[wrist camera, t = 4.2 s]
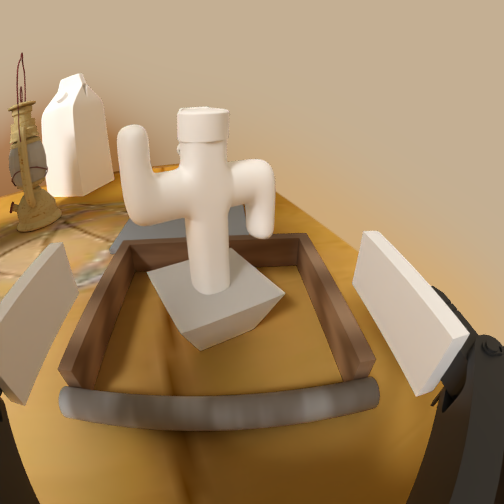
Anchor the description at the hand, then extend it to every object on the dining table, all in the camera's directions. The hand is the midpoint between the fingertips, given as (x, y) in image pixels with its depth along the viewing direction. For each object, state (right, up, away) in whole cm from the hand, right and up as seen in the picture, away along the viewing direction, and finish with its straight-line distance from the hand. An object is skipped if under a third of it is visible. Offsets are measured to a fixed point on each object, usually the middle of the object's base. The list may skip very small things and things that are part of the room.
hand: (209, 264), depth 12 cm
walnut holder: (-1, -5, +10) cm, 11 cm away
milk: (-37, +15, +44) cm, 60 cm away
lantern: (-35, +6, +28) cm, 45 cm away
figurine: (-1, -5, +10) cm, 11 cm away
